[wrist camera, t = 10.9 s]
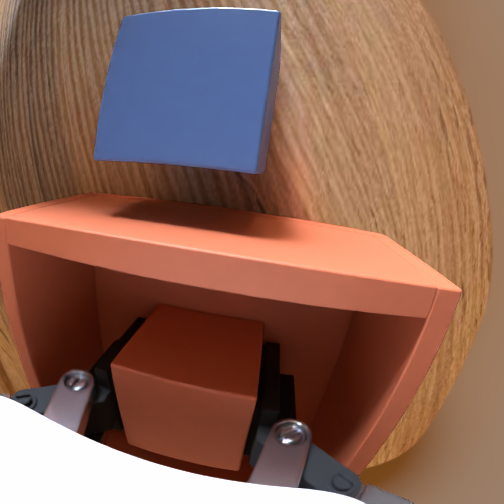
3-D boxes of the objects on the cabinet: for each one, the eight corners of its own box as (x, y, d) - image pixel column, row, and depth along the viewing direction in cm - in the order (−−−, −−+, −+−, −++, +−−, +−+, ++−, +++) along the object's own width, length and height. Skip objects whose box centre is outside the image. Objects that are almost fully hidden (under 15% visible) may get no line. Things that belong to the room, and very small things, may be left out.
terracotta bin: (384, 234, 11) (463, 290, 5) (311, 440, 14) (316, 521, 9) (91, 192, 11) (-8, 214, 6) (110, 399, 15) (69, 464, 9)
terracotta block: (264, 321, 11) (257, 399, 7) (249, 398, 13) (239, 472, 8) (159, 302, 12) (109, 363, 7) (161, 379, 13) (127, 444, 9)
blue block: (280, 65, 9) (281, 9, 5) (264, 173, 11) (256, 175, 6) (171, 60, 10) (122, 15, 5) (154, 161, 11) (92, 160, 7)
